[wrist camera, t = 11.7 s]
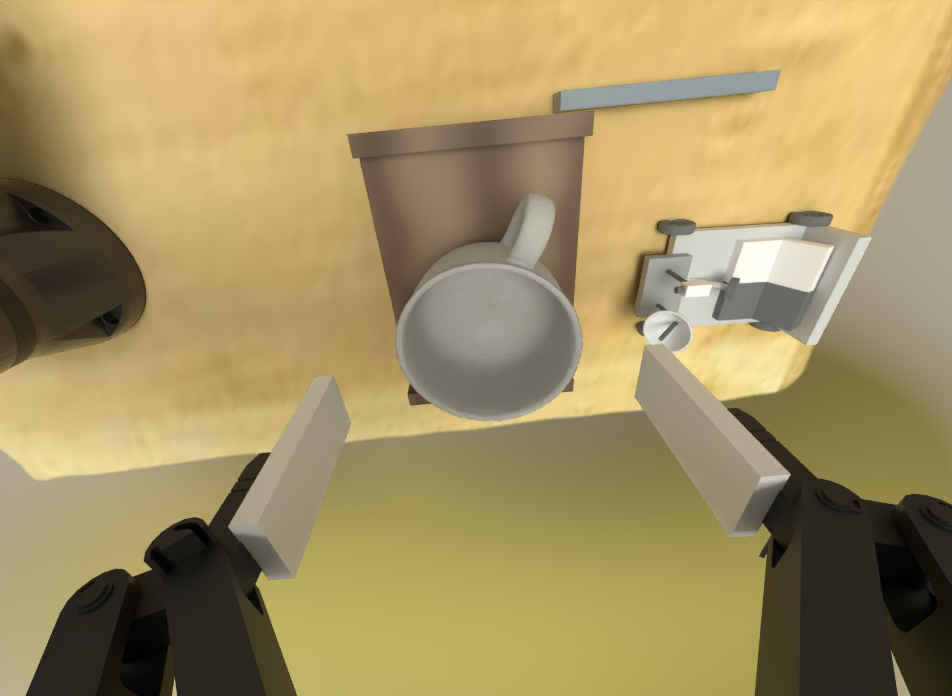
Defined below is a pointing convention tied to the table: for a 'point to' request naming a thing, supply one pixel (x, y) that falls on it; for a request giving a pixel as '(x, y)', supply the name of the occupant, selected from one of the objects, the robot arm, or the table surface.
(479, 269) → the teacup
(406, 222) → the walnut stand
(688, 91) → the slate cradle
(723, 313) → the toy rover
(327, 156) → the table surface
